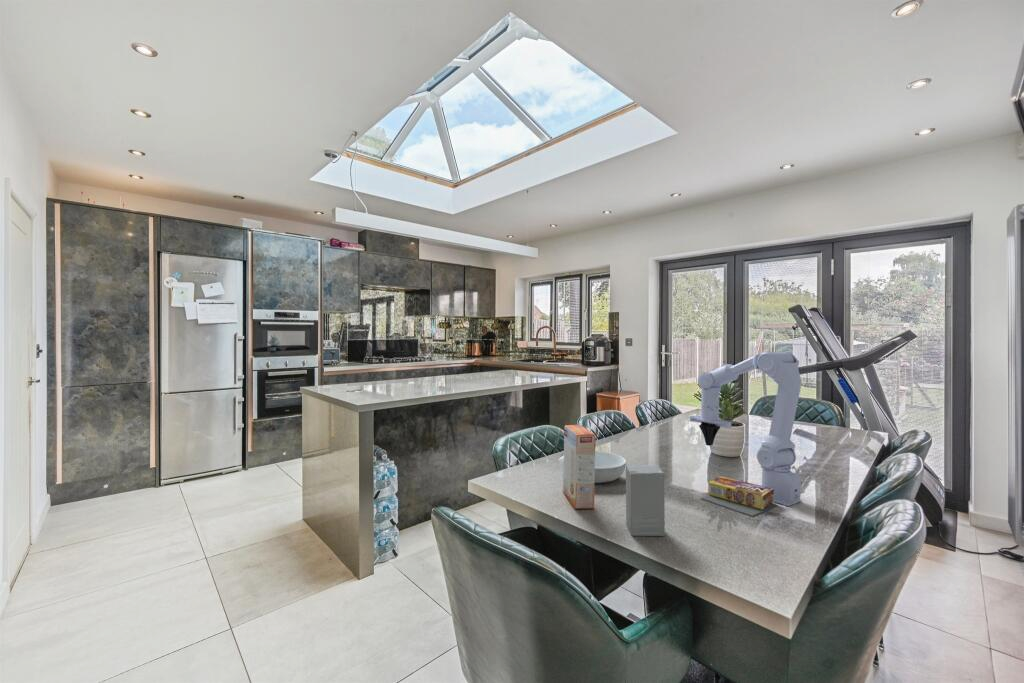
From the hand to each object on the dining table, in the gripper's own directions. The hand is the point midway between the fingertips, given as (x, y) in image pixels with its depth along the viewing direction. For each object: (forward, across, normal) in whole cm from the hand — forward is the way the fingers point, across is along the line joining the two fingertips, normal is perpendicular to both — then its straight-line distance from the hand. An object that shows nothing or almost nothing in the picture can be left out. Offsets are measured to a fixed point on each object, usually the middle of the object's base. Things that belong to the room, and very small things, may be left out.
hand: (709, 444), depth 152 cm
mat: (+10, -20, +17) cm, 28 cm away
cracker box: (+11, +6, +56) cm, 57 cm away
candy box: (+8, -11, +16) cm, 21 cm away
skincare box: (+11, -18, +56) cm, 60 cm away
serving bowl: (+11, +18, +38) cm, 43 cm away
